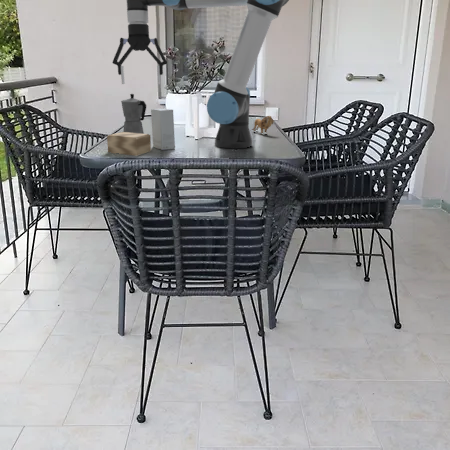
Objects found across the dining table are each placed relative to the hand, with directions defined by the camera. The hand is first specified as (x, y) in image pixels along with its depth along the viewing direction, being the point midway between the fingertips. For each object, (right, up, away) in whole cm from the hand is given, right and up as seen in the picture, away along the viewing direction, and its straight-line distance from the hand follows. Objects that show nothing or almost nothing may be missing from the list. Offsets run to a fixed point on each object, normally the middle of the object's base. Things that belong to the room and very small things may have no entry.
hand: (141, 84), depth 182 cm
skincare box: (+8, -24, +2) cm, 26 cm away
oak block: (-3, -27, -7) cm, 28 cm away
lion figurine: (+50, -11, +45) cm, 67 cm away
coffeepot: (-7, -15, +27) cm, 32 cm away
